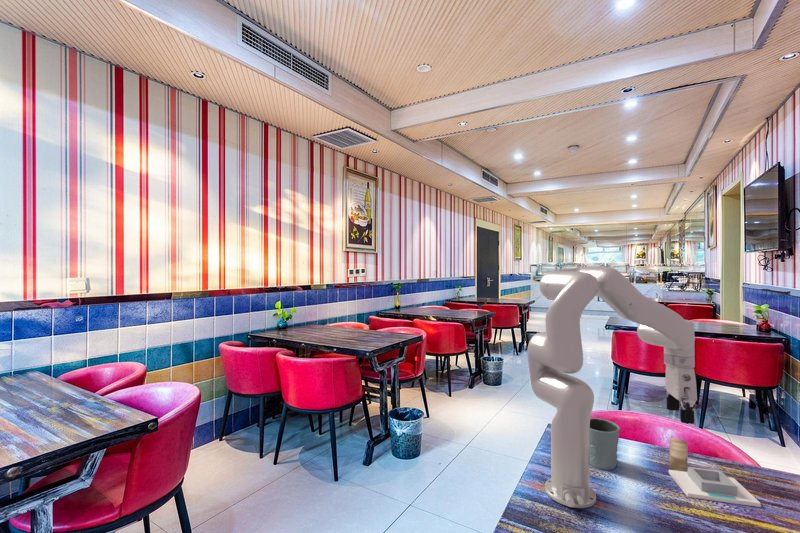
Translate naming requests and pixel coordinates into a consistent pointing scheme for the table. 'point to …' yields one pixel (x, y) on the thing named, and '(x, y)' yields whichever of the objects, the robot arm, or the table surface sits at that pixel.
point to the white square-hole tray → (712, 486)
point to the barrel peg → (678, 454)
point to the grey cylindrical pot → (603, 443)
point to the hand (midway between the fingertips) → (679, 416)
